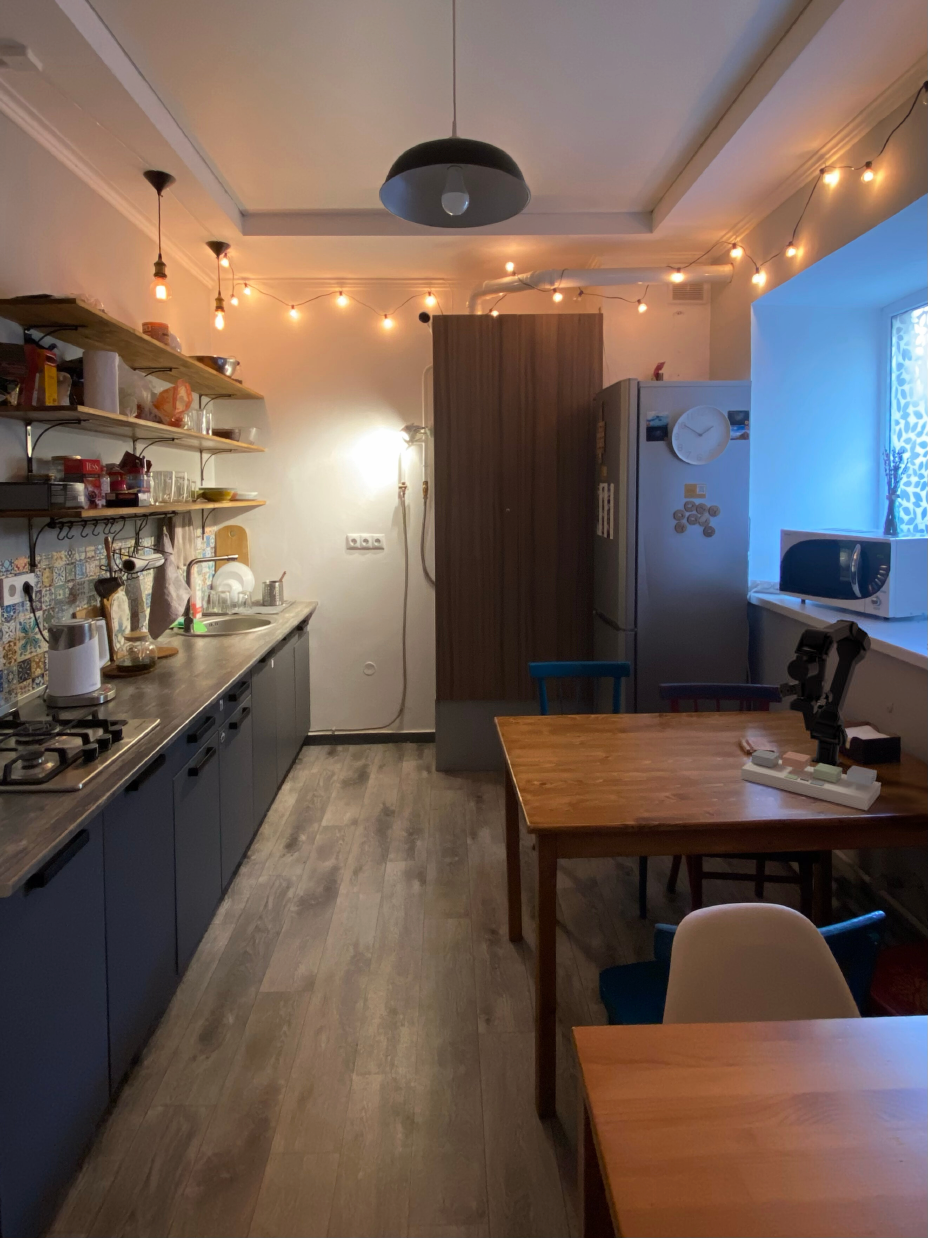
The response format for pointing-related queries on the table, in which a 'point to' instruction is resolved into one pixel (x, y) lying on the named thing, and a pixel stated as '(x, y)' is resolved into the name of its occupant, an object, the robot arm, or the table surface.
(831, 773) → the key sage
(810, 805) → the table surface
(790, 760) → the key terracotta
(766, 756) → the key slate
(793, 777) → the keypad base
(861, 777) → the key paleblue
